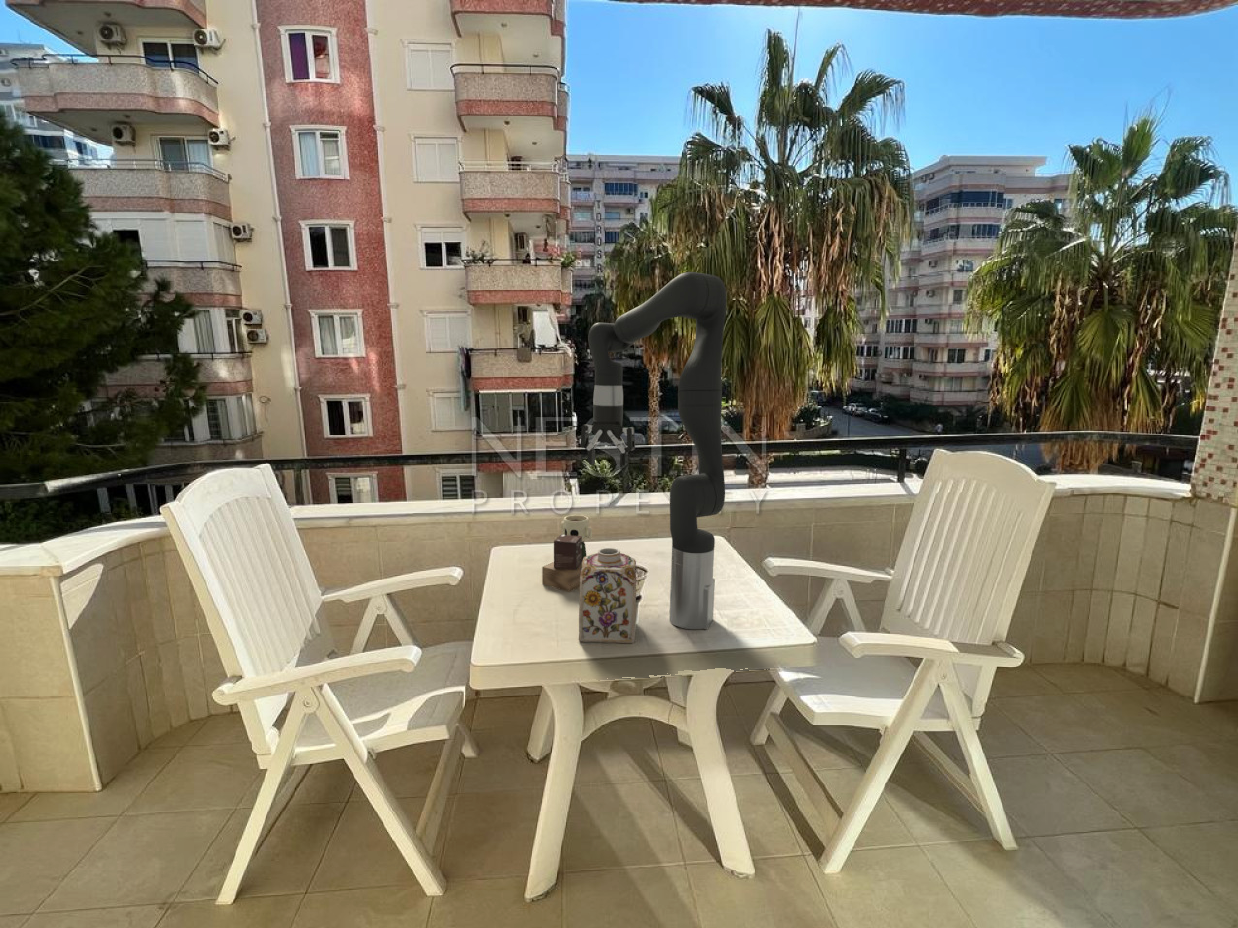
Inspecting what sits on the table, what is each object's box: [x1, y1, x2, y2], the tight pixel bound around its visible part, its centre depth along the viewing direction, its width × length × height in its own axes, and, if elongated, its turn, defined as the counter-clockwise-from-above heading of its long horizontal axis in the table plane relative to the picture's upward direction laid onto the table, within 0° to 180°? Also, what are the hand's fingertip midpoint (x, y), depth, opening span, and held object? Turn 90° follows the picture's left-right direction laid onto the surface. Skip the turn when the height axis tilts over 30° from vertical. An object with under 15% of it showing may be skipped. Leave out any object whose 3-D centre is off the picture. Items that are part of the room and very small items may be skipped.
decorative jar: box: [578, 547, 637, 644], centre depth 126 cm, size 12×12×18 cm
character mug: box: [560, 514, 593, 560], centre depth 169 cm, size 11×7×13 cm, turn 55°
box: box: [553, 534, 582, 570], centre depth 153 cm, size 6×6×7 cm
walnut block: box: [541, 561, 582, 593], centre depth 154 cm, size 9×9×5 cm
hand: (607, 465), depth 154 cm, fingers open, 8 cm apart
